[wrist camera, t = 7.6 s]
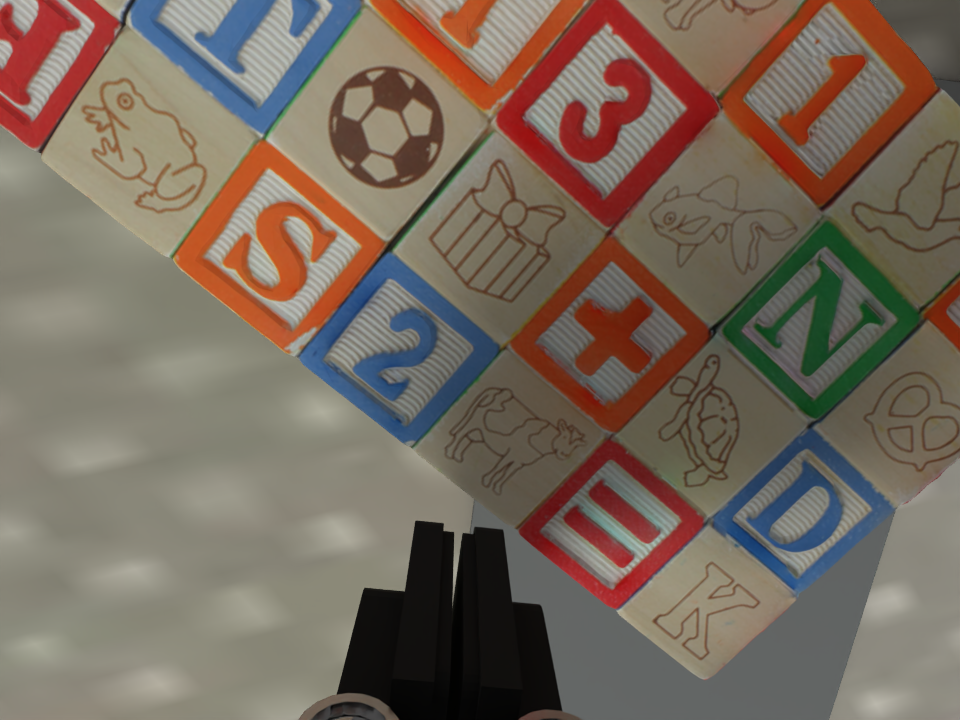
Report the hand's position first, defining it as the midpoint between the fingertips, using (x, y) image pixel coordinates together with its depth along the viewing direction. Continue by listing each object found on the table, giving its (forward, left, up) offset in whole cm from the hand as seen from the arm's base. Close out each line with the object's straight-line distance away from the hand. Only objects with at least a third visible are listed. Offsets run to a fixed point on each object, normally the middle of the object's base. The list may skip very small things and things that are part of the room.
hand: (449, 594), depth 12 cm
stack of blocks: (+3, -2, -5) cm, 6 cm away
